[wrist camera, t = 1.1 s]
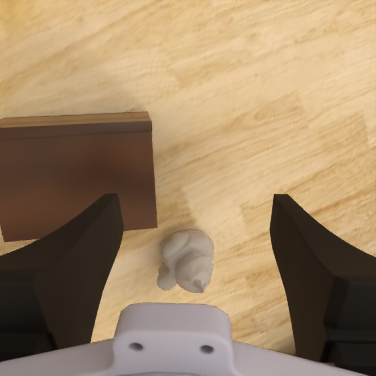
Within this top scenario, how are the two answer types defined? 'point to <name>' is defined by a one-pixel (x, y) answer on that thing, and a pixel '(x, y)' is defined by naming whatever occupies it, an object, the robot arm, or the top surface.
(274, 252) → the robot arm
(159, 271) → the beige rounded piece
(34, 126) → the wooden box
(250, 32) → the top surface
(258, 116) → the top surface
